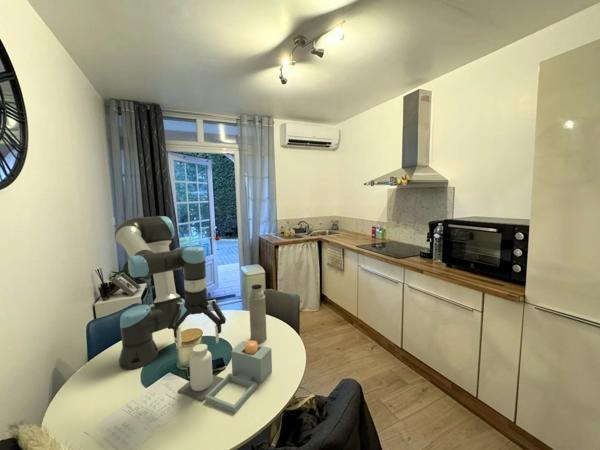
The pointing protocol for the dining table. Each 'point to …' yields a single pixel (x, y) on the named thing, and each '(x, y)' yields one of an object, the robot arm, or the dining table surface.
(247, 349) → the plunger
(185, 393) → the mat
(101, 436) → the dining table surface
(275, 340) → the dining table surface
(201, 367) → the pill bottle
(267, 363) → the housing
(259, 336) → the thermos bottle
